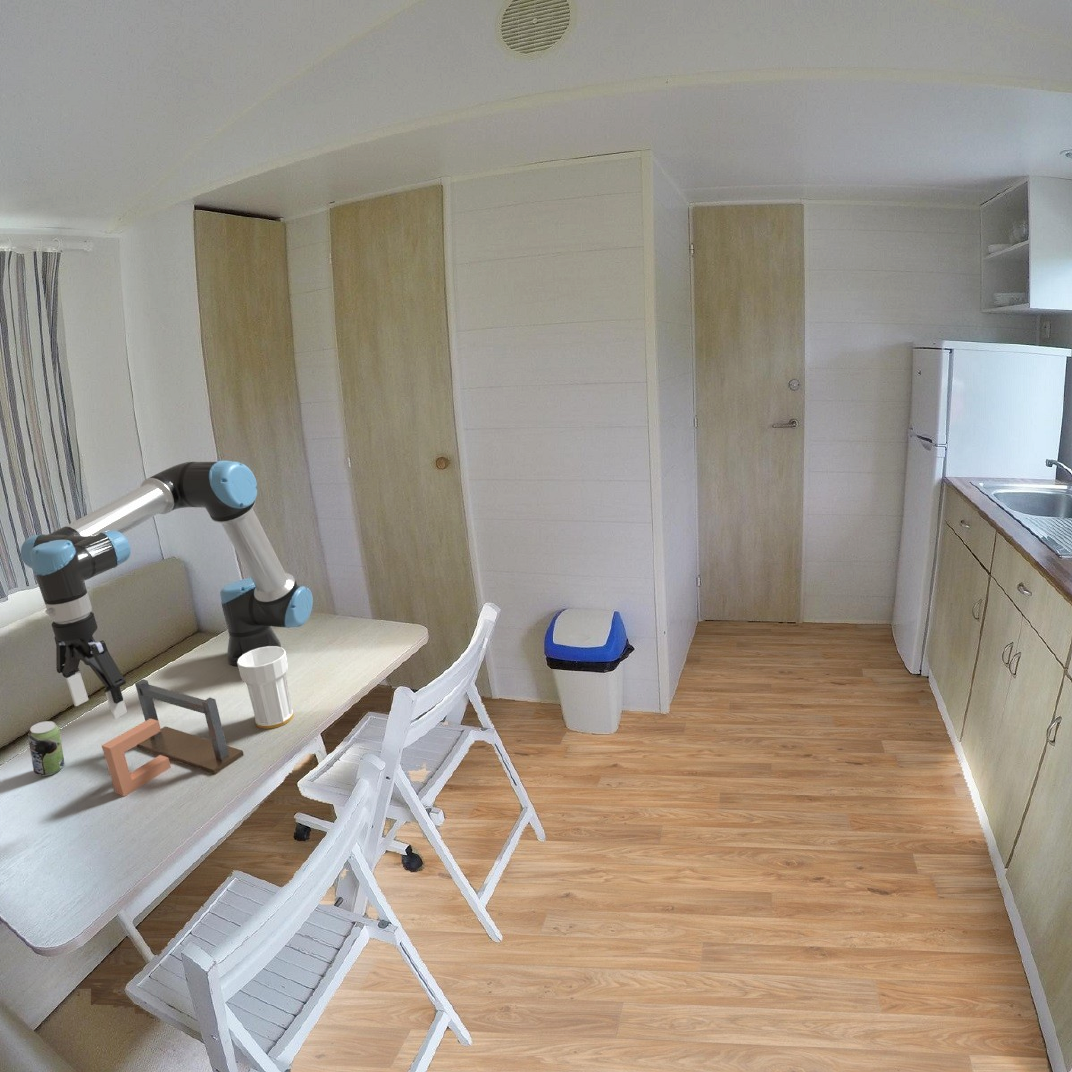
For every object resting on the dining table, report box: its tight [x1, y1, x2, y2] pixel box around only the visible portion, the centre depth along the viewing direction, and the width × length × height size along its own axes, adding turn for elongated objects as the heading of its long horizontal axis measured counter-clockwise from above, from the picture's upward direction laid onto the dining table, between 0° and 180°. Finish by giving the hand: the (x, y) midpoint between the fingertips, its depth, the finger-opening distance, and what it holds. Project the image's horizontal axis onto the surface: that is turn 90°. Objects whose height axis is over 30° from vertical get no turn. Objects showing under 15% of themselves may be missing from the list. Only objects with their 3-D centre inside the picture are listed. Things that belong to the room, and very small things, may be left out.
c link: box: [101, 719, 172, 797], centre depth 169 cm, size 3×12×12 cm, turn 150°
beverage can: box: [27, 720, 65, 777], centre depth 176 cm, size 6×7×12 cm
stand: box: [134, 678, 244, 775], centre depth 178 cm, size 28×8×16 cm, turn 61°
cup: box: [237, 646, 294, 730], centre depth 189 cm, size 11×11×17 cm
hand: (100, 709), depth 161 cm, fingers open, 13 cm apart
